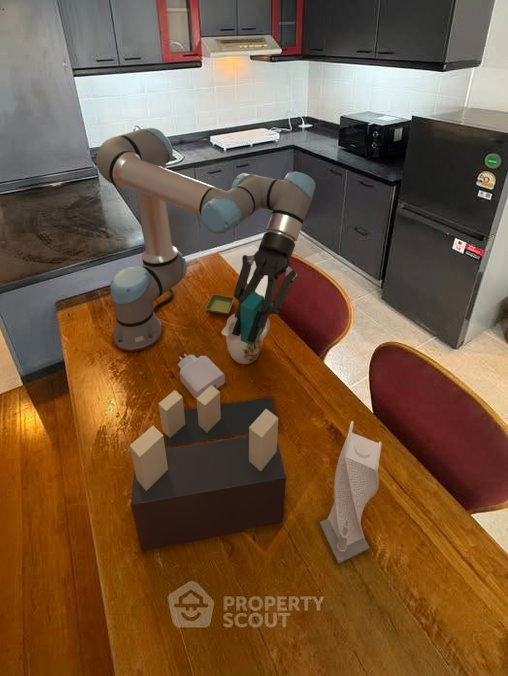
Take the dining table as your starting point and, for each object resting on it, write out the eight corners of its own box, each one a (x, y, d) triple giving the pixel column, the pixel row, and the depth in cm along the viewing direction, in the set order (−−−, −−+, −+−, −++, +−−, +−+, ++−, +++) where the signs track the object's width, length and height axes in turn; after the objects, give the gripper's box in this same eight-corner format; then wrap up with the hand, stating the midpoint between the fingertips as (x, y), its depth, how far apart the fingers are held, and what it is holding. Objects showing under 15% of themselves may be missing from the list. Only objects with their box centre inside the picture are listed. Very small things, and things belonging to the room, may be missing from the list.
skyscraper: (316, 515, 79) (329, 427, 66) (349, 500, 81) (367, 413, 69) (338, 564, 72) (357, 475, 59) (374, 546, 74) (399, 457, 62)
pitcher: (280, 351, 119) (282, 316, 113) (234, 381, 108) (234, 345, 102) (257, 331, 126) (258, 298, 120) (212, 358, 116) (211, 323, 110)
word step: (145, 499, 81) (128, 419, 70) (272, 477, 85) (276, 398, 74) (141, 551, 73) (122, 470, 62) (282, 524, 77) (288, 443, 66)
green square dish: (235, 301, 140) (235, 297, 139) (228, 317, 132) (228, 313, 131) (212, 298, 142) (212, 293, 141) (205, 313, 134) (204, 309, 133)
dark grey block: (163, 414, 99) (159, 385, 94) (271, 399, 103) (272, 371, 99) (162, 448, 91) (157, 419, 86) (279, 430, 95) (280, 401, 91)
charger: (195, 353, 118) (225, 384, 107) (169, 369, 112) (198, 403, 102) (194, 342, 116) (224, 372, 105) (167, 357, 110) (197, 391, 100)
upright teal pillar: (240, 340, 84) (240, 304, 79) (251, 326, 88) (252, 291, 83) (252, 346, 82) (252, 309, 78) (263, 331, 86) (264, 296, 82)
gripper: (317, 251, 86) (282, 354, 80) (255, 233, 93) (219, 326, 88) (310, 241, 79) (271, 352, 74) (244, 222, 87) (204, 322, 81)
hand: (243, 338), depth 81 cm, fingers closed on upright teal pillar, 3 cm apart
